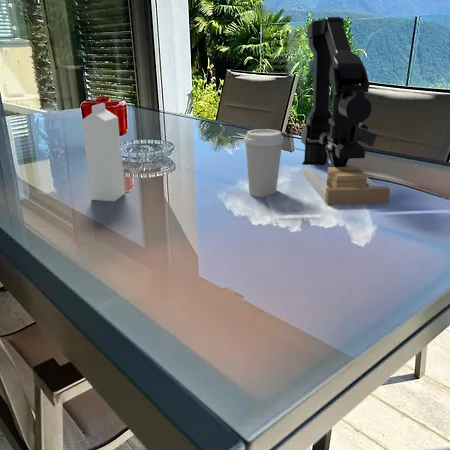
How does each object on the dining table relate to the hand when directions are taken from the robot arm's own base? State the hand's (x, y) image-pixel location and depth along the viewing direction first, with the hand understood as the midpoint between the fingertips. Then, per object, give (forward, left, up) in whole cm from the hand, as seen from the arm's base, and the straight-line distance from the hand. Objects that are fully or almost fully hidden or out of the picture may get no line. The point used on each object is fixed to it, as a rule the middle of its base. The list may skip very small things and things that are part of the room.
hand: (338, 177), depth 117 cm
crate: (+3, -5, -2) cm, 6 cm away
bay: (+2, -3, -2) cm, 4 cm away
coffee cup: (-15, -13, -2) cm, 21 cm away
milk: (-48, -31, -2) cm, 58 cm away
